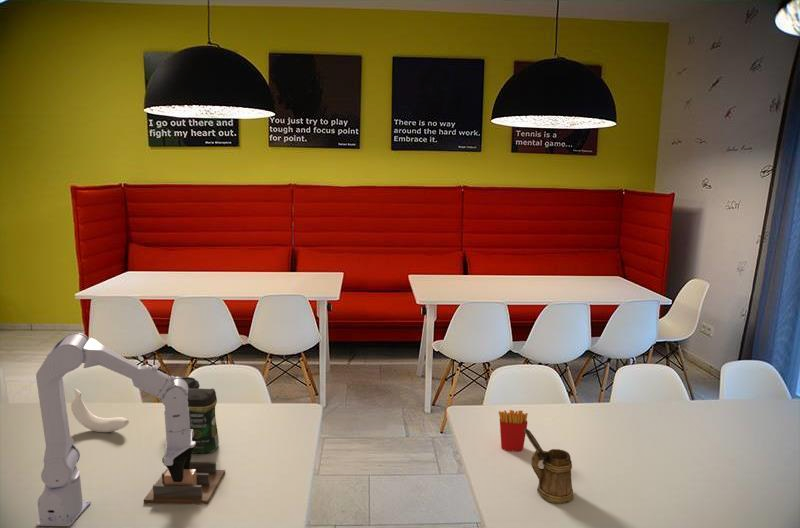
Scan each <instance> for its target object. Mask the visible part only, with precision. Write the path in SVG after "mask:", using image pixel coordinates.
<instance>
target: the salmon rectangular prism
mask: <svg viewBox="0 0 800 528" xmlns="http://www.w3.org/2000/svg"><path fill="white" fill-rule="evenodd" d="M164 482H165V485H197V477H196V469H184V472H183V480H182V482H173V480H172V477H171V474H170V472H169V470H168V471H167V472H166V474H165V475H164Z"/></svg>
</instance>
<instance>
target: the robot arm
mask: <svg viewBox="0 0 800 528" xmlns="http://www.w3.org/2000/svg"><path fill="white" fill-rule="evenodd" d="M82 364H83V369H88V368H91V367H96V366H101V367H103V368H106V369H108V370H110V371H113V372H115V373H117V374H119V375H121V376H123V377H126V378H129V379H131V381H132V384H133V385H132V386H133V387H135V388H137V389H138V390H139V389H140V390H142V391H143V392H145V393H147V394H148V395H151V396H153V397H155V398H157V399H160V400H161V402H162V405H163V406H164V413H163V415H164V425H165V439H166V440H165V441H166V443H165V452H164V455H163V457H162V458H161V459H162V460H161V461H162V464H163V466H165V467H166V469H168V470H169V472H170V474H171V477H172V480H173V482H182V480H183V472H184V469H189V468H190V462H192V457H193V454H194V453H193V451H194V448H195V446H196V442H195V441H192V438H193V436H194V433H193V429H190V418H189V407H188V401H187V400H188V385H187V383H186V381H185V380H183V379H182V378H183V377H181V376H174V375H168V374H166V373H165V372H163V371H160V370H158V368H159V367H158V366H157V365H154V364H153V365H152V366H151V365H149V364H145V365H138V364H136V363H135V362H133V361H132V360H129V359H127V358H126V357H124V356H123V355H121V354H119V353H118V352H116V351H114V350H112V349H111V348H109V347H107V346H106V345H104V344H102V343H101V342H99V340H97V339H95V338H92V337H88V336H87V335H86V334H84V333H82V332H71V333H69V334H66V335H65V336H64V337H63V338H62V339H60V340H59V341H58V342H57V343H55V346H54V347H52V349H51V350H50V352H49V353H48V354H47V355H46V357H45V359H44V361H43V363H41V365H40V367H39V369H38V370H37V372H36V373H35V380H36V385H37V392H38V400H39V401H38V402H39V407H40V414H41V422H42V429H43V435H44V442H45V443H44V444H45V450H44V456H43V468H42V470H41V474H40V478H41V481H42V483H44V489H43V491H42V494H41V495H40V496H39V497H38V499H37V510H38V518H39V520H38V521H36V524H35V525H36V527H37V526H39V527H40V526H41V527H71V525H73V523H74V522H76V520H77V519H78V517H80V515H81V514H82V513H83V512H84V511H85V510H86V509H87V507H88V506H89V505H91V503H92V501H91V500H88V499H86V500H84V499H83V491H82V483H81V474H80V470H79V469H78V467H77V464H78V462H79V461H80V458H81V453H80V450H79V449H78V448H77V446H76V445H75V440H74V438H73V437H72V436H71V432H70V423H69V417H68V411H67V403H66V395H65V388H64V387H65V386H64V380H63V377H64V376H65V375H66V374H68V373H71V372H72V371H74V370H76V369H78V368H79V367H80V366H81V365H82Z"/></svg>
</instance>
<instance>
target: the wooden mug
mask: <svg viewBox="0 0 800 528" xmlns="http://www.w3.org/2000/svg"><path fill="white" fill-rule="evenodd" d="M524 431H525V433H526V435H525V436H526V437H527V438H528V440H529V442H530V443H531V445H532V447H533V448H534V449H535V451H534V452H533V455H532V457H531V463H530V464H531V468H532V470H533V472H534V473H535V475H536V477H537V479H538V486H537V489H536V490H537V492H536V493H538V495H539V496H540V498H541V499H543V500H544V501H546V502H548V503H553V504H557V505H558V504H559V505H562V504H567V503H570V502H571V501H573V499H574V489H573V486H572V485H573V484H572V483H573V482H572V468H573V463H572V458H571V455H570V453H569V452H568V451H566V450H564V449H560V448H559V449H558V448H552V449H549V450H543V449H542V446H541V445H540V444H539V442H538V440H537V438H536V437H535V436H534V435H533V433H532V432H531V431H530V430H529V429H528V428H527V429H526V428H525V429H524ZM540 462H541V464H542V465H543V467H542V468H540V466H539V463H540Z"/></svg>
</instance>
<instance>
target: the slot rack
mask: <svg viewBox="0 0 800 528" xmlns="http://www.w3.org/2000/svg"><path fill="white" fill-rule="evenodd" d="M189 469H196V477H197V485H165V482H164V475H165V474H166V472H167V471H168V468H166V469H165V471H164V472H162V473H161V476H160V477H159V479H158V480H157V481H156V482H155V484H153V485H152V488H151V489H150V490H149V492H148V493H147V494H146V496H144V499H143V504H153V505H154V504H155V505H156V504H162V505H163V504H164V505H168V504H169V505H209V503H210V501H211V500H212V497H213V496H214V494H215V492H216V491H217V489H218V488H219V485H220V483H221V482H222V480H223V478H224V476H225V474H226V469H217V463H216V461H191V462H190V468H189Z"/></svg>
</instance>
